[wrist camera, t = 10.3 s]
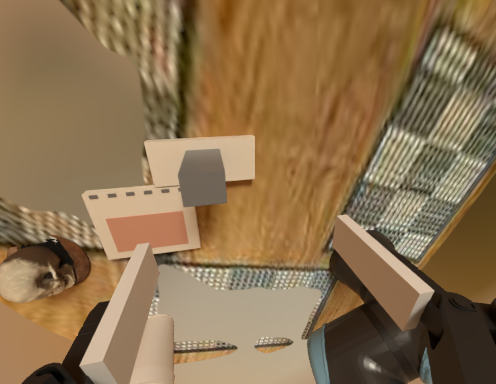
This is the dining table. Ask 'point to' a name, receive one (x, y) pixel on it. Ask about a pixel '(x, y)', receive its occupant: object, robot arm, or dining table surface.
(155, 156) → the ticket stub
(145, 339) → the foam cup
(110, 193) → the white flat piece
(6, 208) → the dining table surface
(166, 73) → the dining table surface
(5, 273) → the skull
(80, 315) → the dining table surface
